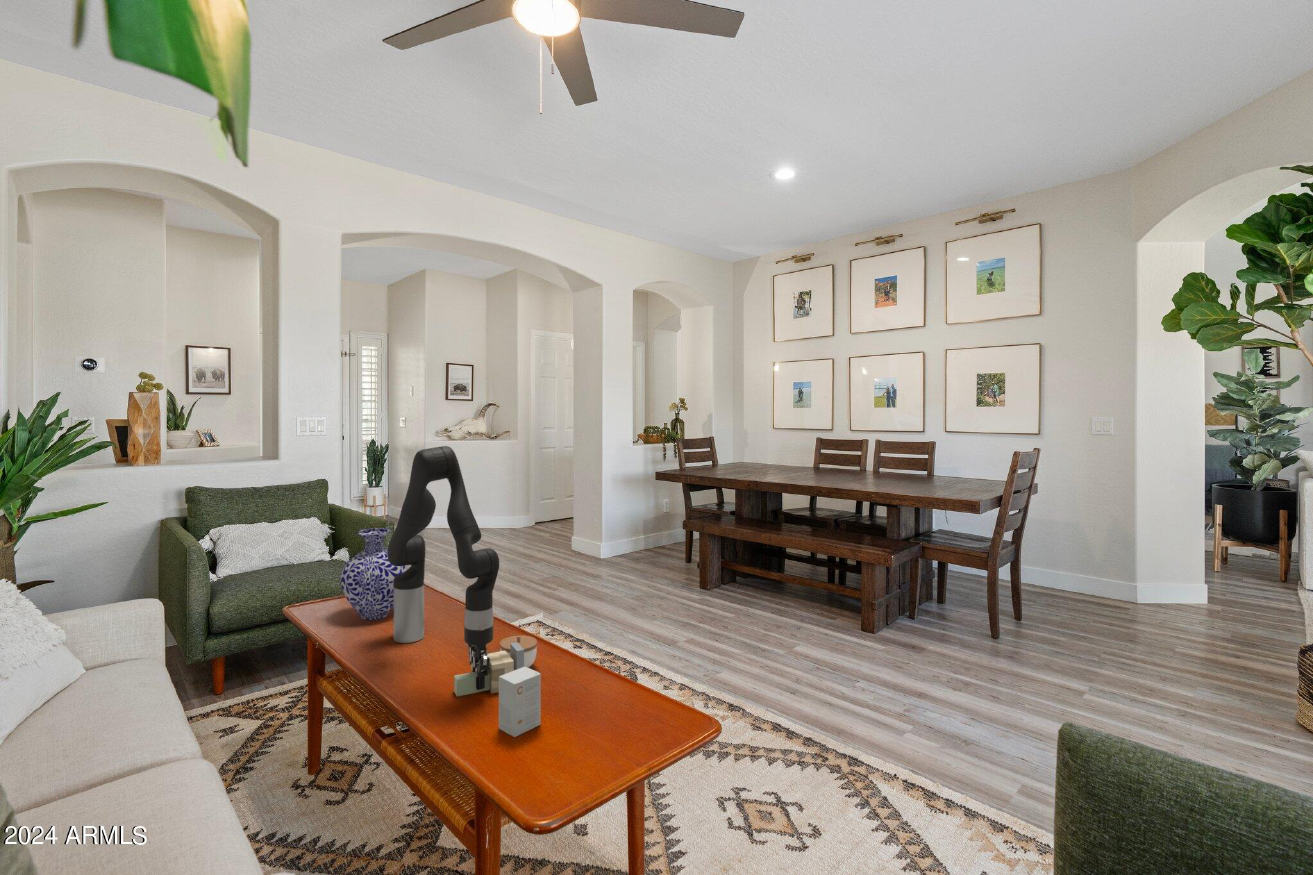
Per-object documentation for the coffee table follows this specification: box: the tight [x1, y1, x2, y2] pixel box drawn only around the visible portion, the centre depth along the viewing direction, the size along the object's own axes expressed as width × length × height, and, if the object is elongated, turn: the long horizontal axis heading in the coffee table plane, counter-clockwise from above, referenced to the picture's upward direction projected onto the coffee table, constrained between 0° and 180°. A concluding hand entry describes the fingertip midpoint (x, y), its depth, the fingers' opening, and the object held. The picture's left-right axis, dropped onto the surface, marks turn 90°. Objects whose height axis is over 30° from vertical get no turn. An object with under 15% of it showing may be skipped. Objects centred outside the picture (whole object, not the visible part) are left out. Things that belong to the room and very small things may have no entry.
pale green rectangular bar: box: [453, 669, 490, 697], centre depth 178 cm, size 3×12×4 cm, turn 119°
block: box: [487, 650, 514, 695], centre depth 181 cm, size 8×6×8 cm
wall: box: [510, 642, 524, 670], centre depth 183 cm, size 6×2×10 cm, turn 30°
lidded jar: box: [499, 635, 538, 668], centre depth 192 cm, size 11×11×9 cm
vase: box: [340, 527, 407, 621], centre depth 232 cm, size 22×22×30 cm
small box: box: [498, 667, 542, 738], centre depth 159 cm, size 8×6×13 cm
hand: (478, 685), depth 178 cm, fingers closed on pale green rectangular bar, 3 cm apart
